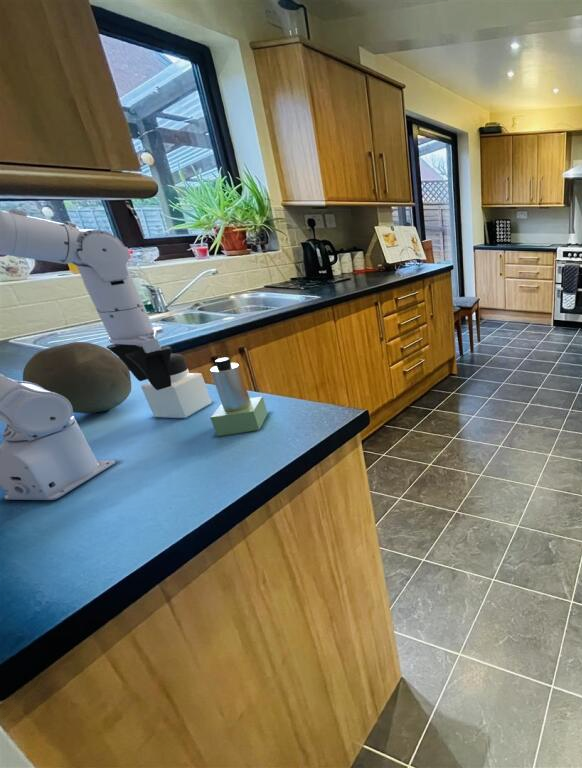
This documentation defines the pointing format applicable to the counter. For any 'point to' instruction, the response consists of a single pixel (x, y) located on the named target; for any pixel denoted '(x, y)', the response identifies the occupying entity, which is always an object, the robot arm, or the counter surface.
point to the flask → (230, 385)
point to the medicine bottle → (178, 392)
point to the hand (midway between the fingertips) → (154, 383)
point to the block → (240, 418)
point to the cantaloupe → (81, 375)
